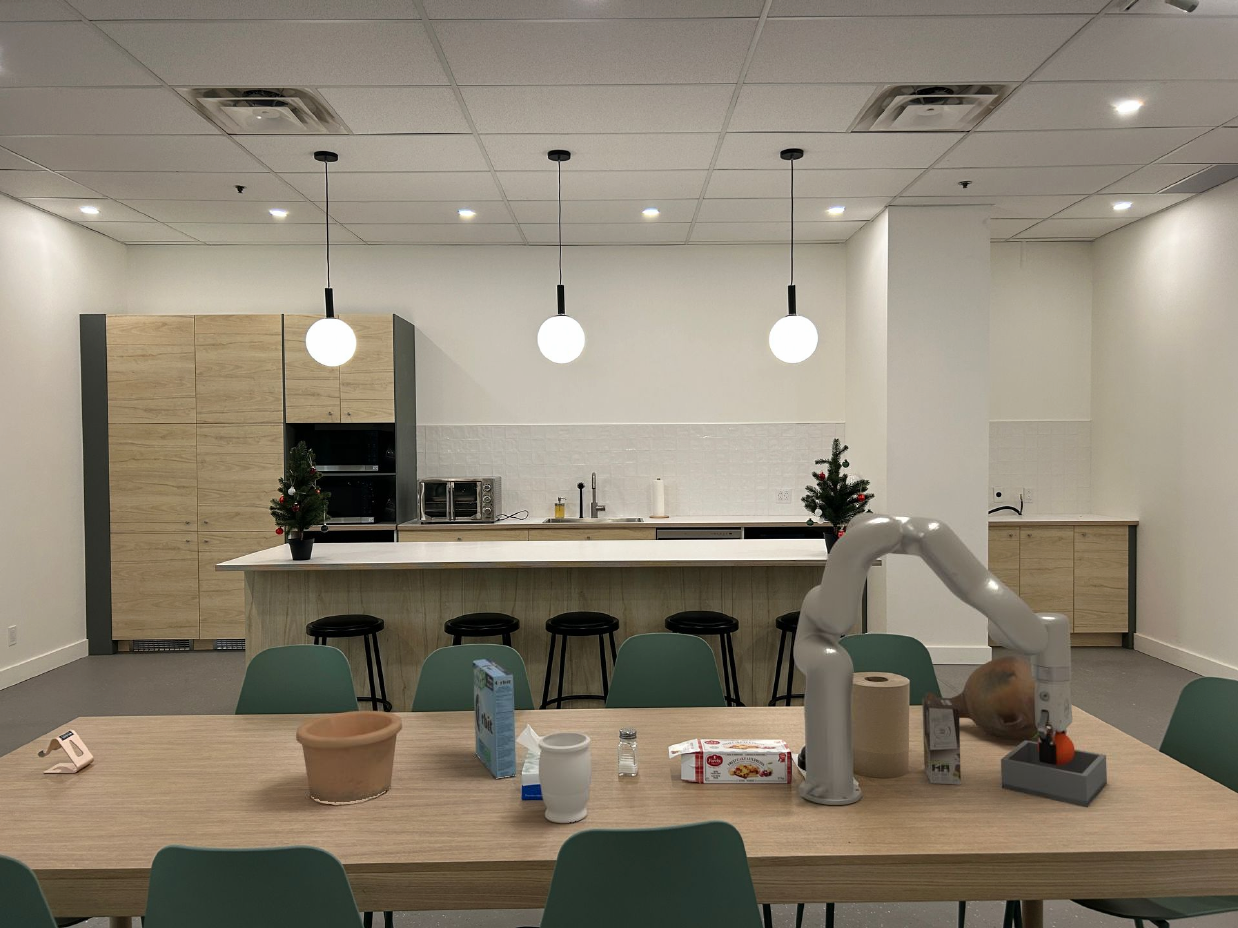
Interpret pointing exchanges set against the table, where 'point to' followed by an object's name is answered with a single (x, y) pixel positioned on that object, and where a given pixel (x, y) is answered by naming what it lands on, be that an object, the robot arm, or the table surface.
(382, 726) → the pottery
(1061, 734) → the clementine
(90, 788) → the table surface
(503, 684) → the gum box
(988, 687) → the jug
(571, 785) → the jar
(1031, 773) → the bin
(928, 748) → the coffee box
